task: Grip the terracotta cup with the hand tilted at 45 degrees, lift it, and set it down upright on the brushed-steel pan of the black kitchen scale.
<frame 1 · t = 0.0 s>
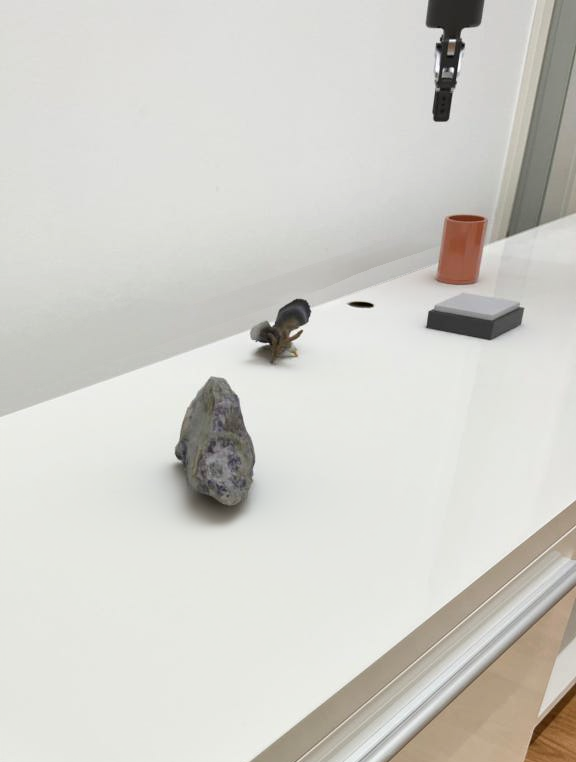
hand: (440, 118, 151), 22 cm above the table, tool pointing down, fingers open, 8 cm apart
grey-brown irregular figure: (280, 356, 131), on the table
cup: (456, 279, 160), on the table
scale: (473, 325, 139), on the table
mineral rock: (207, 488, 97), on the table
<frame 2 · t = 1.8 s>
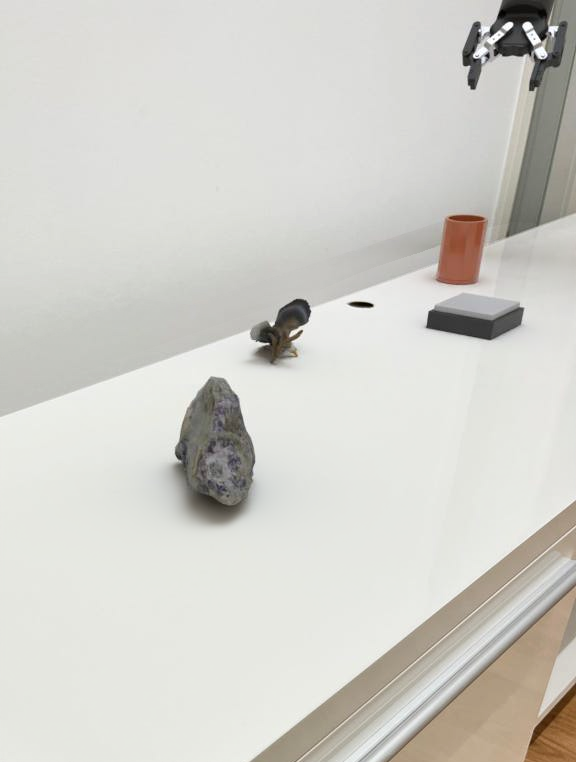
hand: (501, 86, 155), 26 cm above the table, tool tilted 45°, fingers open, 8 cm apart
nothing on the table moved.
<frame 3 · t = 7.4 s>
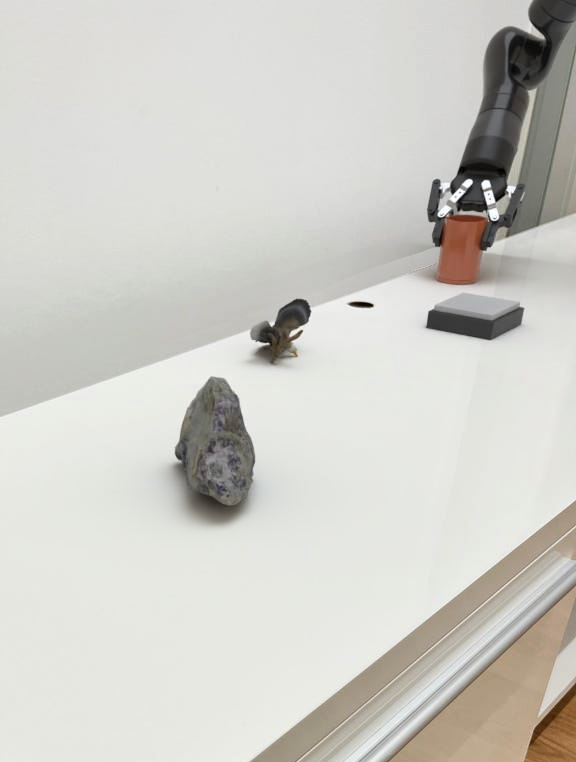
hand: (460, 245, 156), 5 cm above the table, tool tilted 45°, fingers closed on cup, 6 cm apart
cup: (456, 279, 160), on the table, touching gripper
everything else where it was.
when the fingers open (8 cm above the table, at t = 16.1 s): cup stays where it is, resting on scale.
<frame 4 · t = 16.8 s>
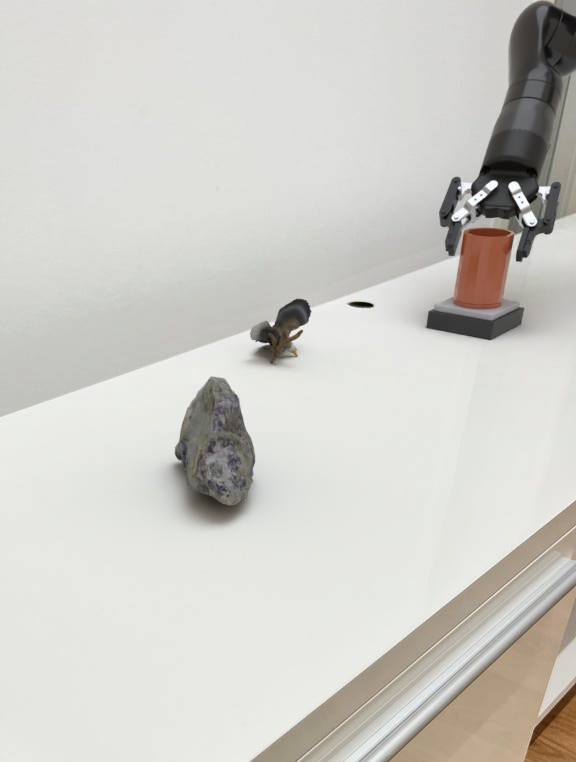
hand: (484, 255, 133), 9 cm above the table, tool tilted 45°, fingers open, 8 cm apart
cup: (477, 303, 137), point 3 cm above the table, touching scale
everything else where it was.
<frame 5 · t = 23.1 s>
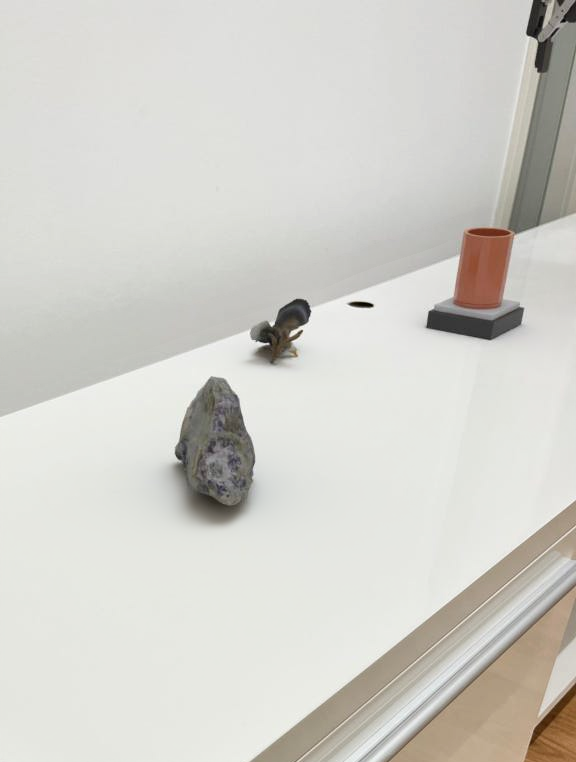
hand: (572, 73, 143), 28 cm above the table, tool pointing down, fingers open, 8 cm apart
nothing on the table moved.
at the end: cup 0.1 cm off-centre on the scale, point 3.0 cm above the scale's base; cup tilted 0°; the gripper is holding nothing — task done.
